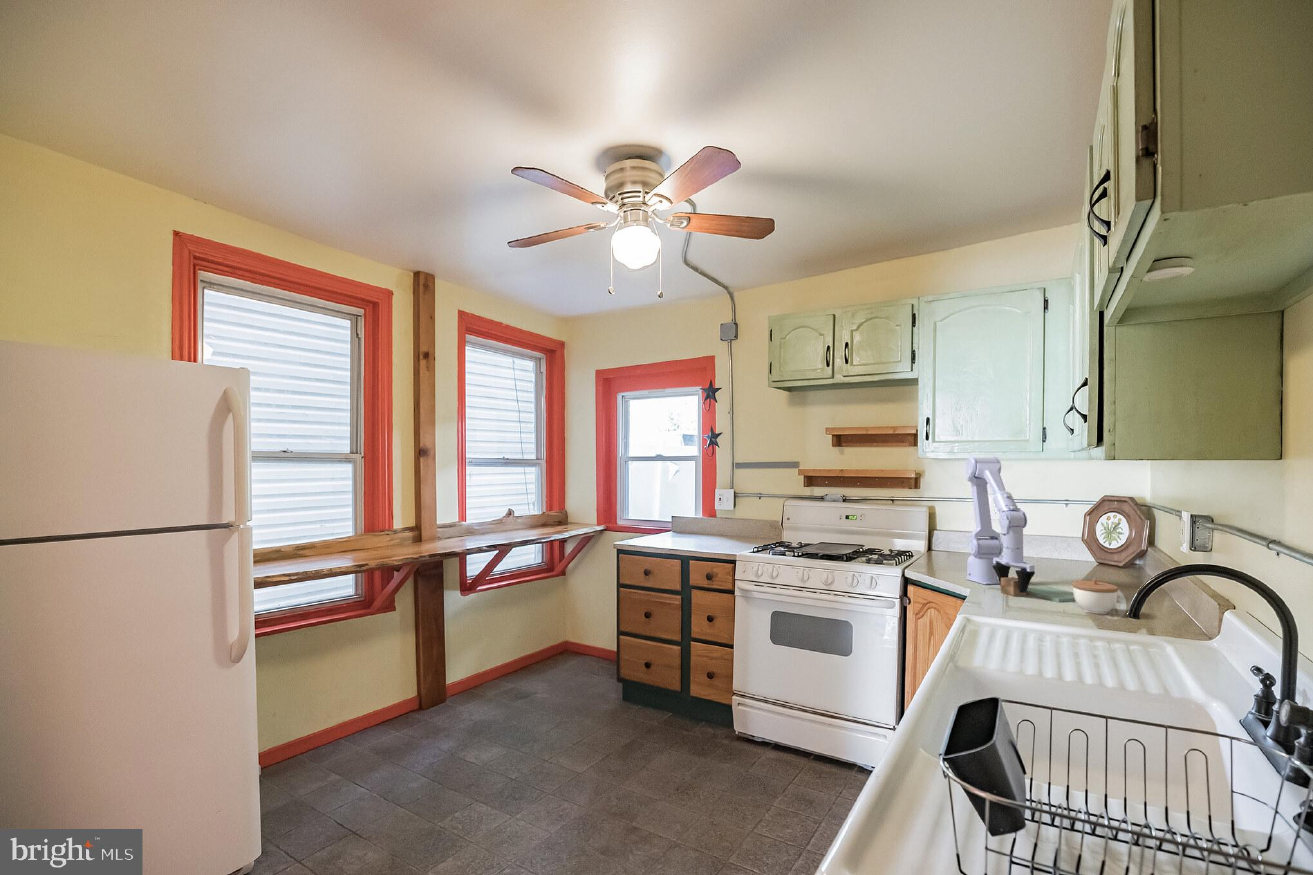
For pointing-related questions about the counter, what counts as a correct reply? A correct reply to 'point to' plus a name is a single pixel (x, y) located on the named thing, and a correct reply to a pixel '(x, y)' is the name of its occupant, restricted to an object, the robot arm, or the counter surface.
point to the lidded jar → (1095, 596)
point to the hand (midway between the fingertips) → (1013, 589)
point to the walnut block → (1011, 586)
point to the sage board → (1051, 593)
